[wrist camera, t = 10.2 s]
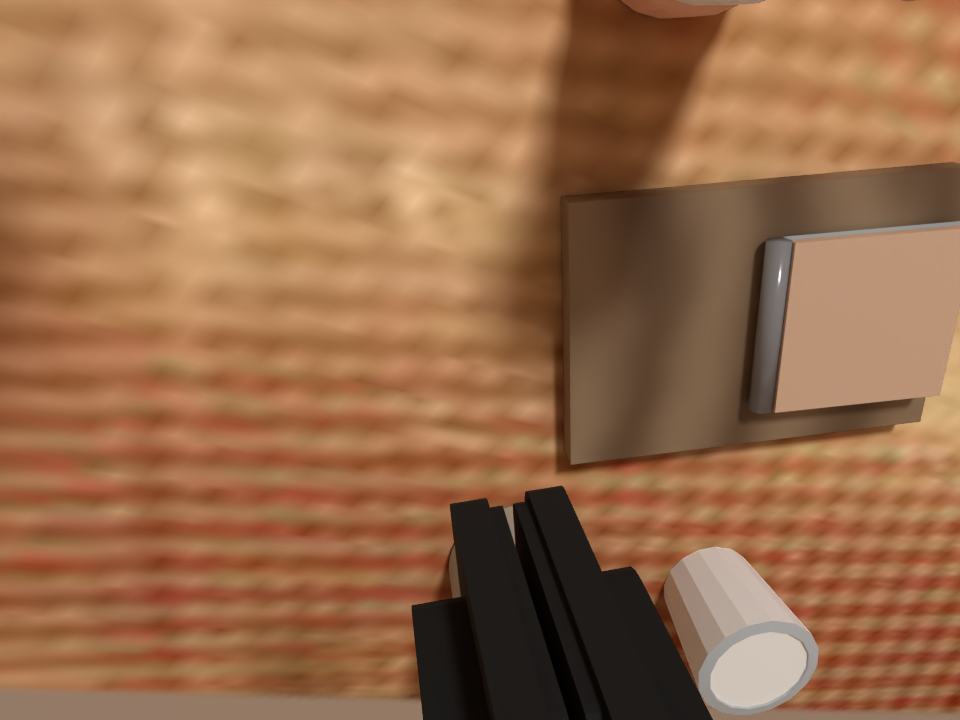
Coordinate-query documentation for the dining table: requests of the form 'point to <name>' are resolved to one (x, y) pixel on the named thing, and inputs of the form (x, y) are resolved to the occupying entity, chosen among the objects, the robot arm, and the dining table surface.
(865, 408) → the board
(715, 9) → the salt shaker
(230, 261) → the dining table surface
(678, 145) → the dining table surface
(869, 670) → the dining table surface
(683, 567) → the white cup
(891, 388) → the tile
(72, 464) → the dining table surface
